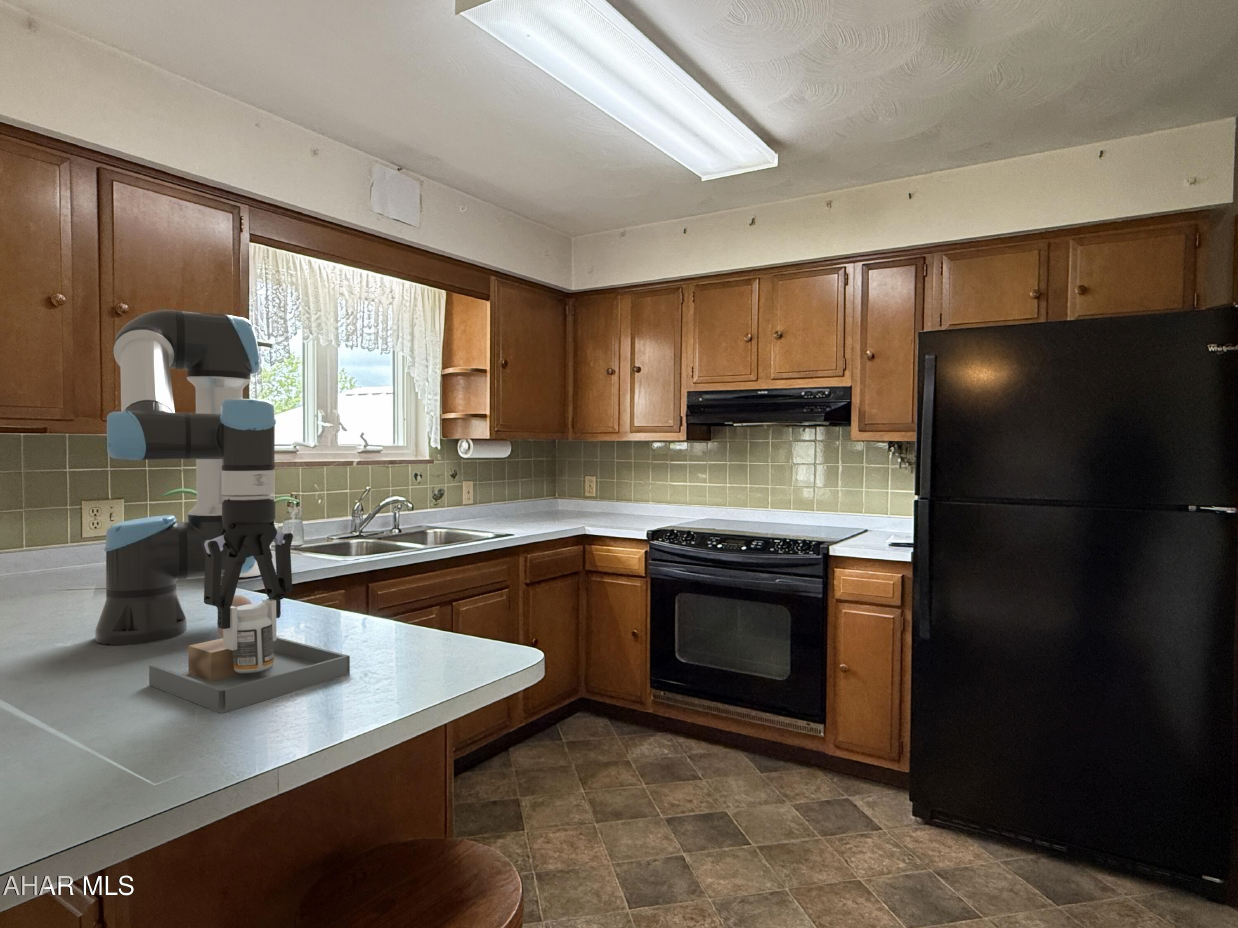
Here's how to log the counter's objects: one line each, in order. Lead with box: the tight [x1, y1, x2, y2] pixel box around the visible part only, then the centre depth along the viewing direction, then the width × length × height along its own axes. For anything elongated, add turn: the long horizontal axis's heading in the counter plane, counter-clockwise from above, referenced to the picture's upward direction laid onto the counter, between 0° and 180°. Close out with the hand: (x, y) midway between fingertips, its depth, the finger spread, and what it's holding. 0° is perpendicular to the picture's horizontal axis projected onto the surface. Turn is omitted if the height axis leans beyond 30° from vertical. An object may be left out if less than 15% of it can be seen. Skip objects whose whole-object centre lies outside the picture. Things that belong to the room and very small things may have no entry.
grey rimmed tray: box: [148, 636, 351, 714], centre depth 115 cm, size 21×21×3 cm
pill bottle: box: [233, 602, 274, 673], centre depth 115 cm, size 6×6×10 cm
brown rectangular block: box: [187, 637, 243, 682], centre depth 118 cm, size 7×10×4 cm
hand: (250, 643), depth 115 cm, fingers closed on pill bottle, 6 cm apart
